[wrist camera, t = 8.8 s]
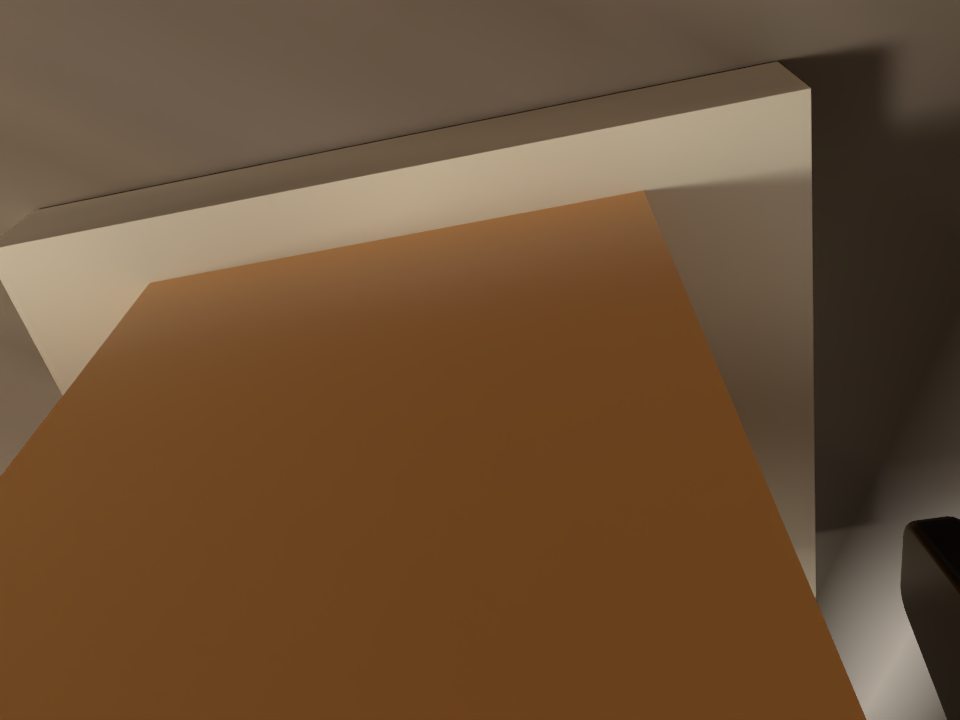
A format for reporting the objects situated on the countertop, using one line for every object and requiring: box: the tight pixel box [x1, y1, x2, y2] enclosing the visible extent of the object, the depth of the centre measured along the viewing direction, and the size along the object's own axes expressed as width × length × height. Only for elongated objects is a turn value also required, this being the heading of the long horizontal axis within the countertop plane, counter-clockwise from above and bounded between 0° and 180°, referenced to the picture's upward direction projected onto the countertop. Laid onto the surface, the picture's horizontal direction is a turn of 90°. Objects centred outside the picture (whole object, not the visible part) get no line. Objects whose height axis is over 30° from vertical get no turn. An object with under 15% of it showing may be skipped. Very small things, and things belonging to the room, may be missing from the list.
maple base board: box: [0, 62, 816, 597], centre depth 12 cm, size 7×9×1 cm
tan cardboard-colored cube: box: [0, 191, 866, 720], centre depth 8 cm, size 6×6×8 cm
